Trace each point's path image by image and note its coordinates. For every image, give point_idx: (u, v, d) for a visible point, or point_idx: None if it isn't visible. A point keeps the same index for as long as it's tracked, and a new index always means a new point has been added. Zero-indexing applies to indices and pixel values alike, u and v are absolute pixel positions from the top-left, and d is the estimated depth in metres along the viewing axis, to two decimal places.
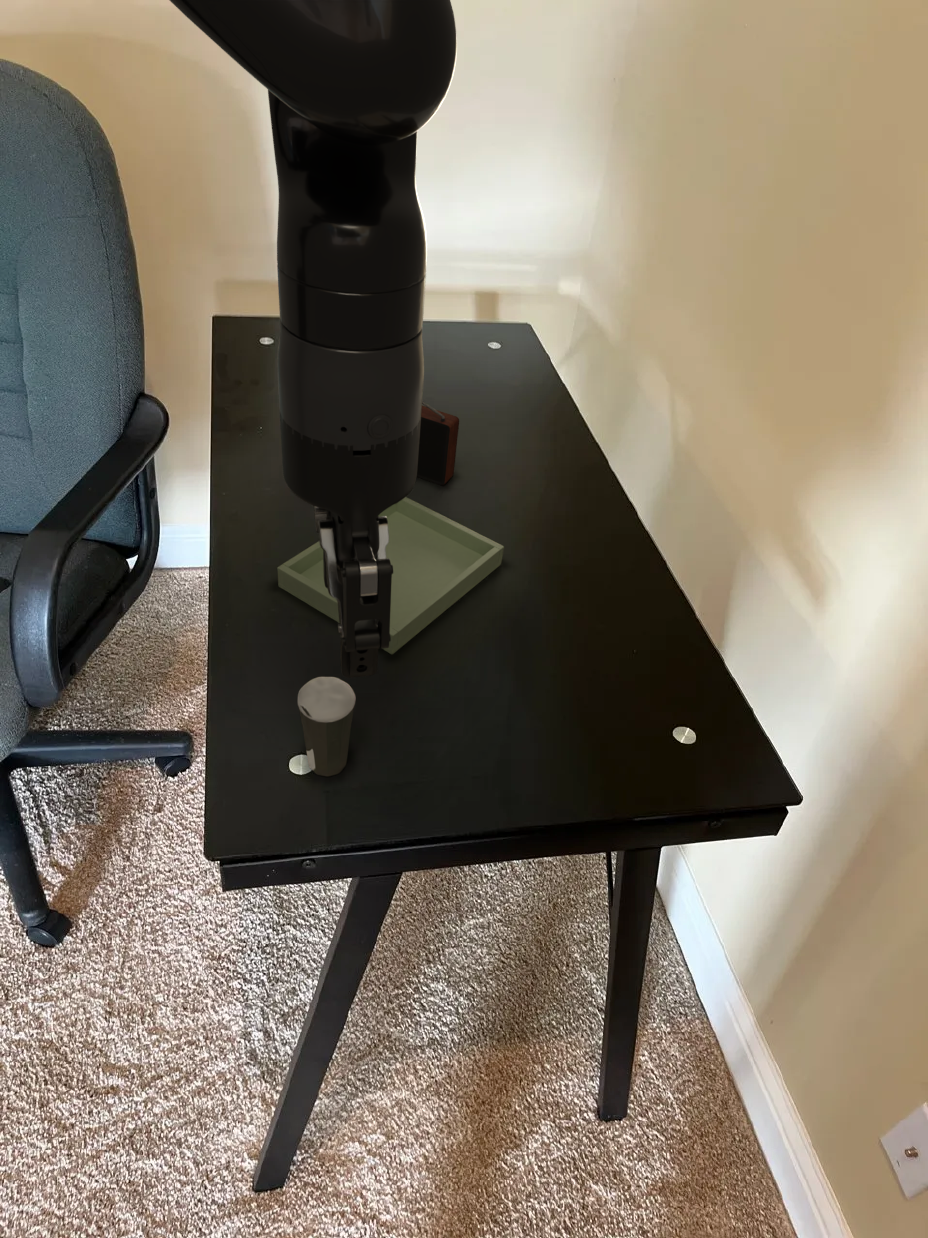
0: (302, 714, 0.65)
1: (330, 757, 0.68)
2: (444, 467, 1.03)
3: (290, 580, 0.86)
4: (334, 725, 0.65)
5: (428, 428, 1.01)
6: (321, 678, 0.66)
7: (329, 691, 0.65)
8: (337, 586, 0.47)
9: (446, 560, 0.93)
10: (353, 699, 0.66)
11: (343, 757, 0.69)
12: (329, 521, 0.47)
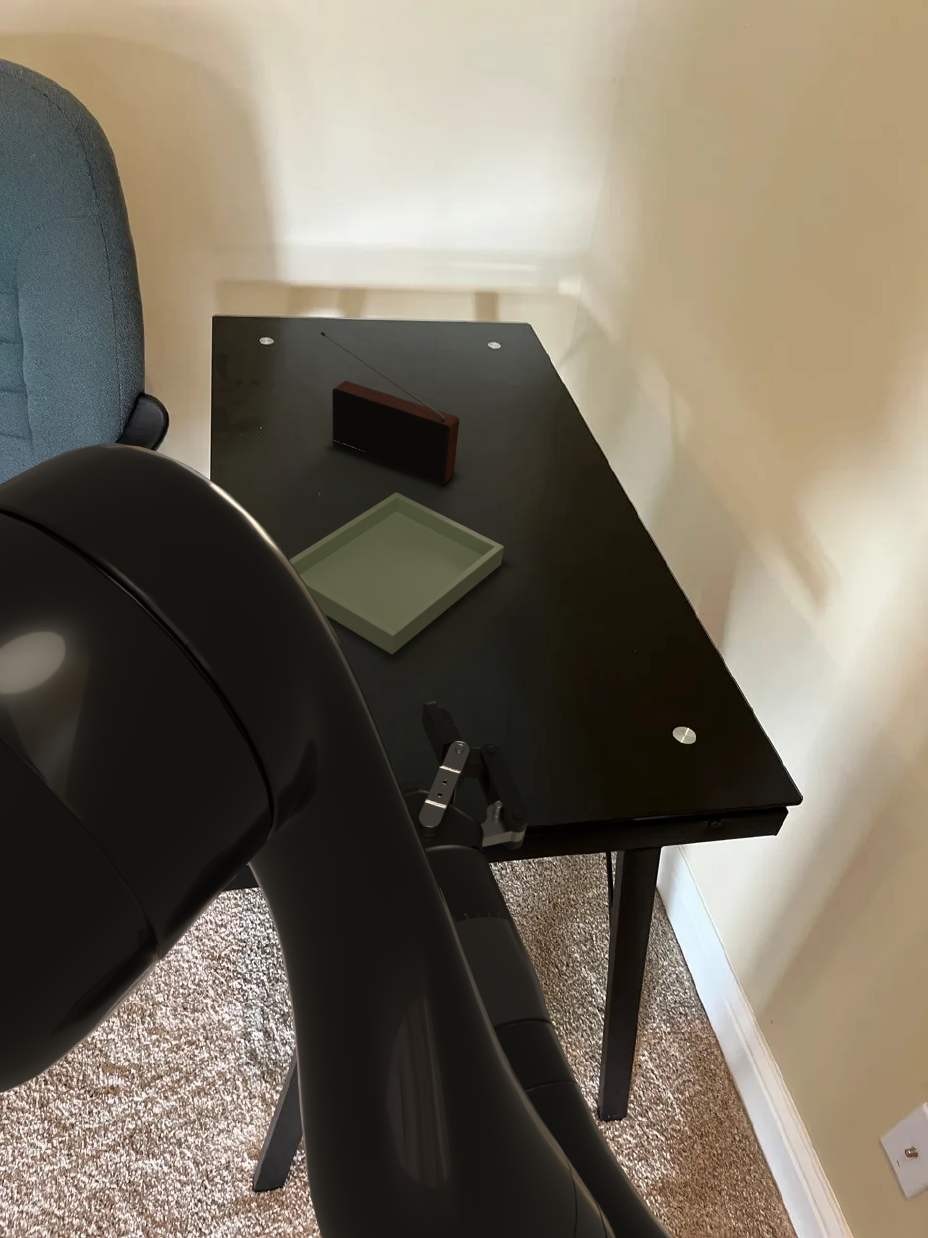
0: None
1: None
2: (444, 467, 1.03)
3: None
4: None
5: (428, 428, 1.01)
6: None
7: None
8: None
9: (446, 560, 0.93)
10: None
11: None
12: None
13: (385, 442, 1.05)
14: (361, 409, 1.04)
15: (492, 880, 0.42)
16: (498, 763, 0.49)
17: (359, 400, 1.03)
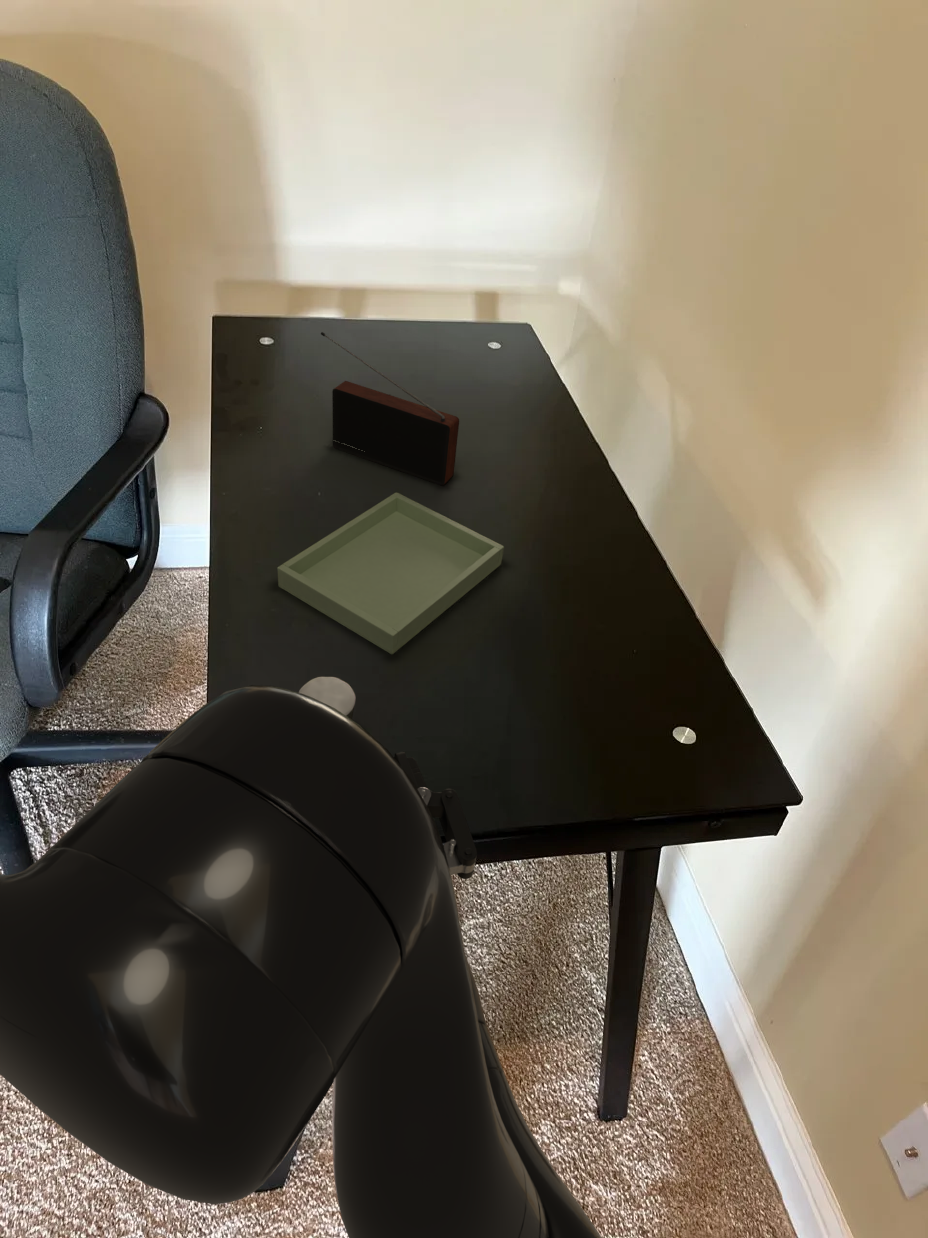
0: None
1: None
2: (444, 467, 1.03)
3: (290, 580, 0.86)
4: None
5: (428, 428, 1.01)
6: (321, 678, 0.66)
7: (329, 691, 0.65)
8: None
9: (446, 560, 0.93)
10: (353, 699, 0.66)
11: None
12: None
13: (385, 442, 1.05)
14: (361, 409, 1.04)
15: None
16: (454, 806, 0.59)
17: (359, 400, 1.03)
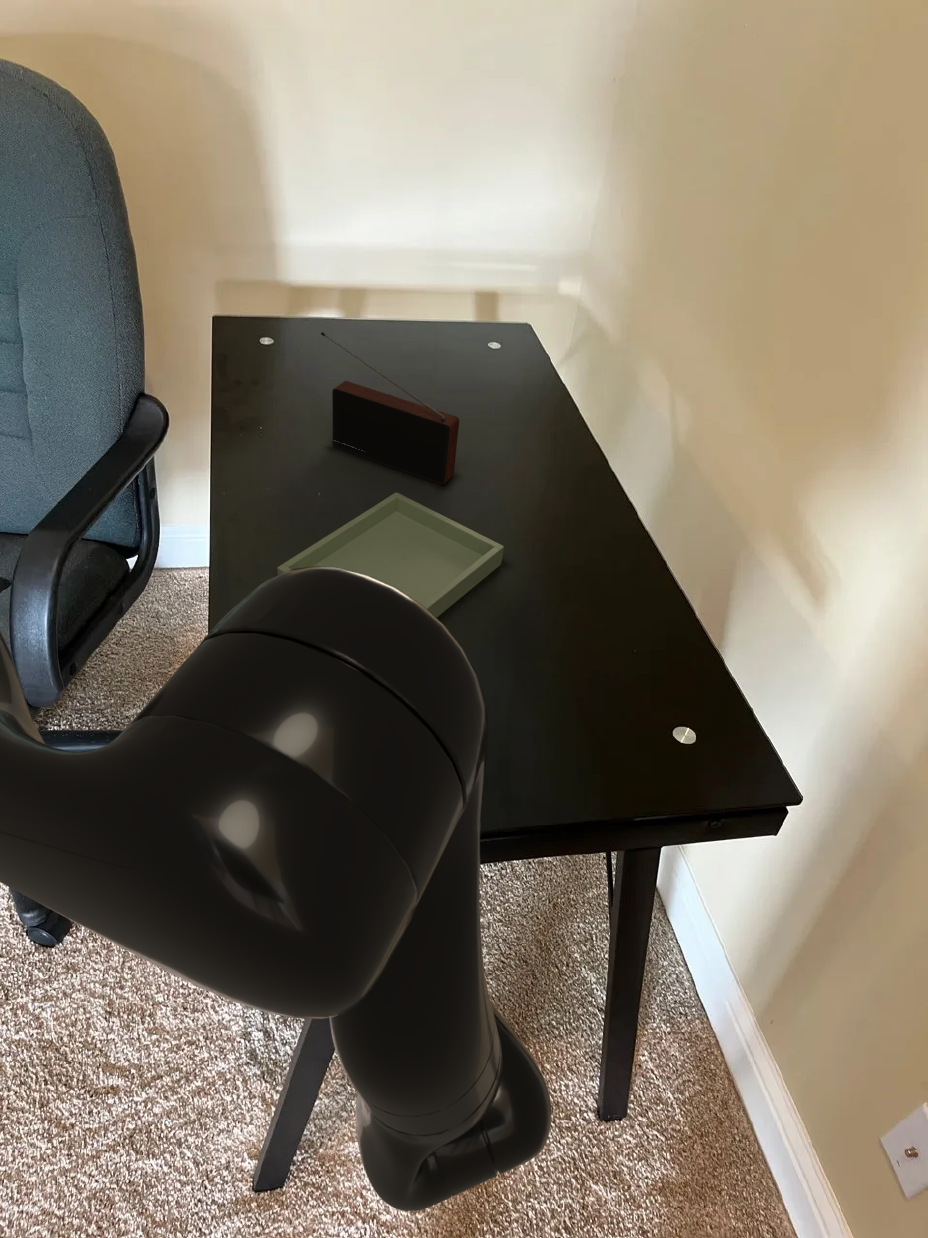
0: None
1: None
2: (444, 467, 1.03)
3: None
4: None
5: (428, 428, 1.01)
6: None
7: None
8: None
9: (446, 560, 0.93)
10: None
11: None
12: None
13: (385, 442, 1.05)
14: (361, 409, 1.04)
15: None
16: None
17: (359, 400, 1.03)
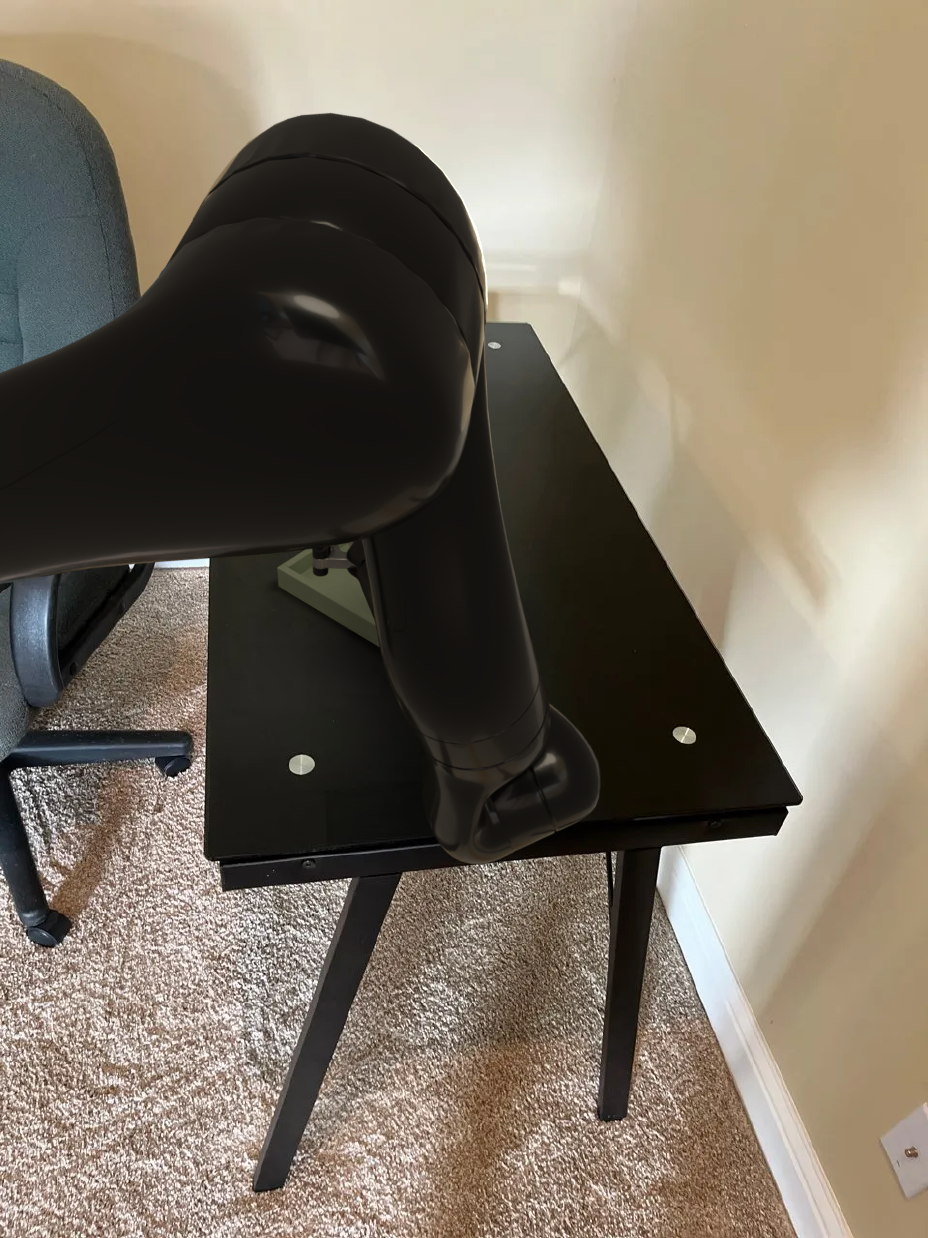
0: None
1: None
2: None
3: (290, 580, 0.86)
4: None
5: None
6: None
7: None
8: None
9: None
10: None
11: None
12: None
13: None
14: None
15: None
16: None
17: None
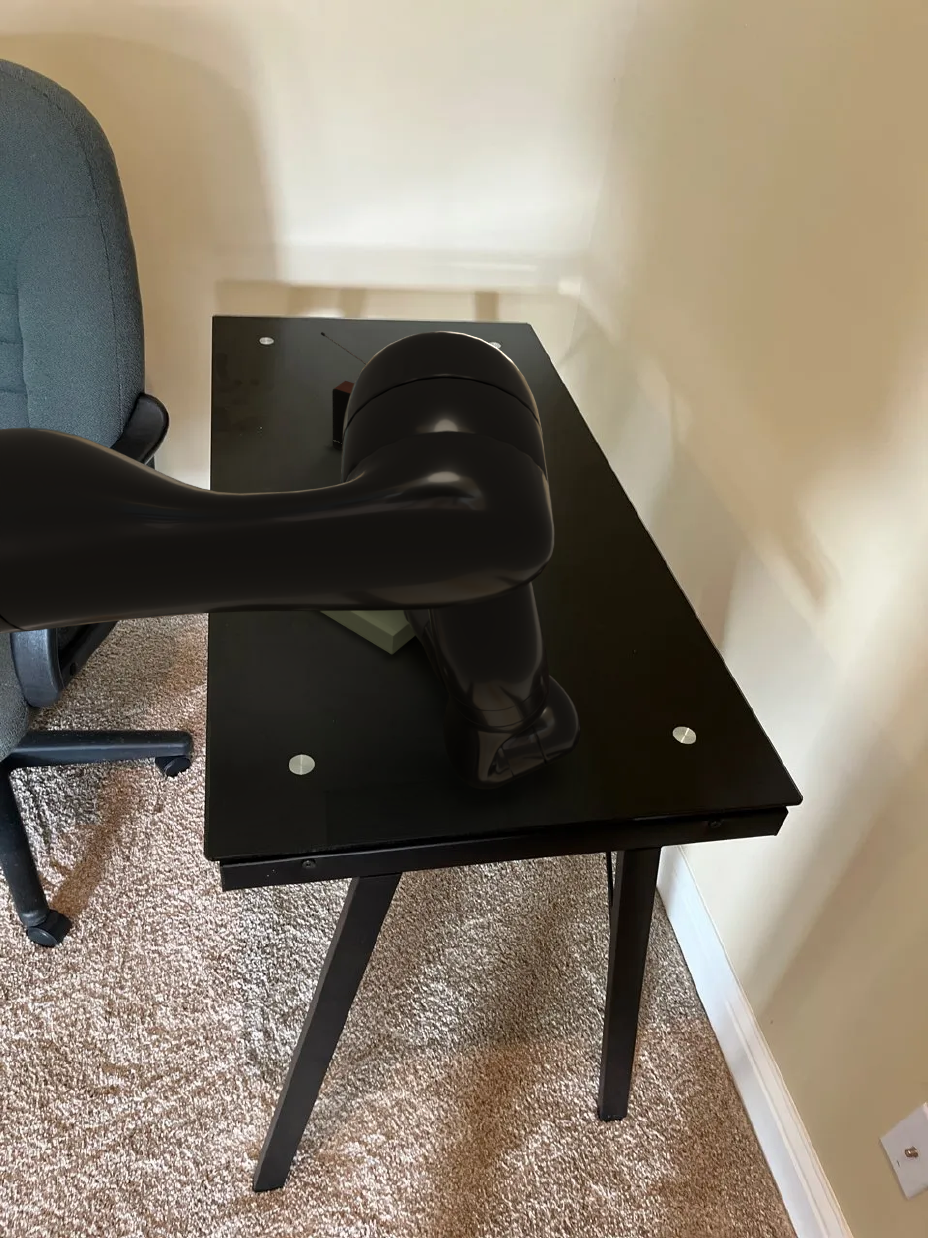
0: None
1: None
2: None
3: None
4: None
5: None
6: None
7: None
8: None
9: None
10: None
11: None
12: None
13: None
14: None
15: None
16: None
17: None
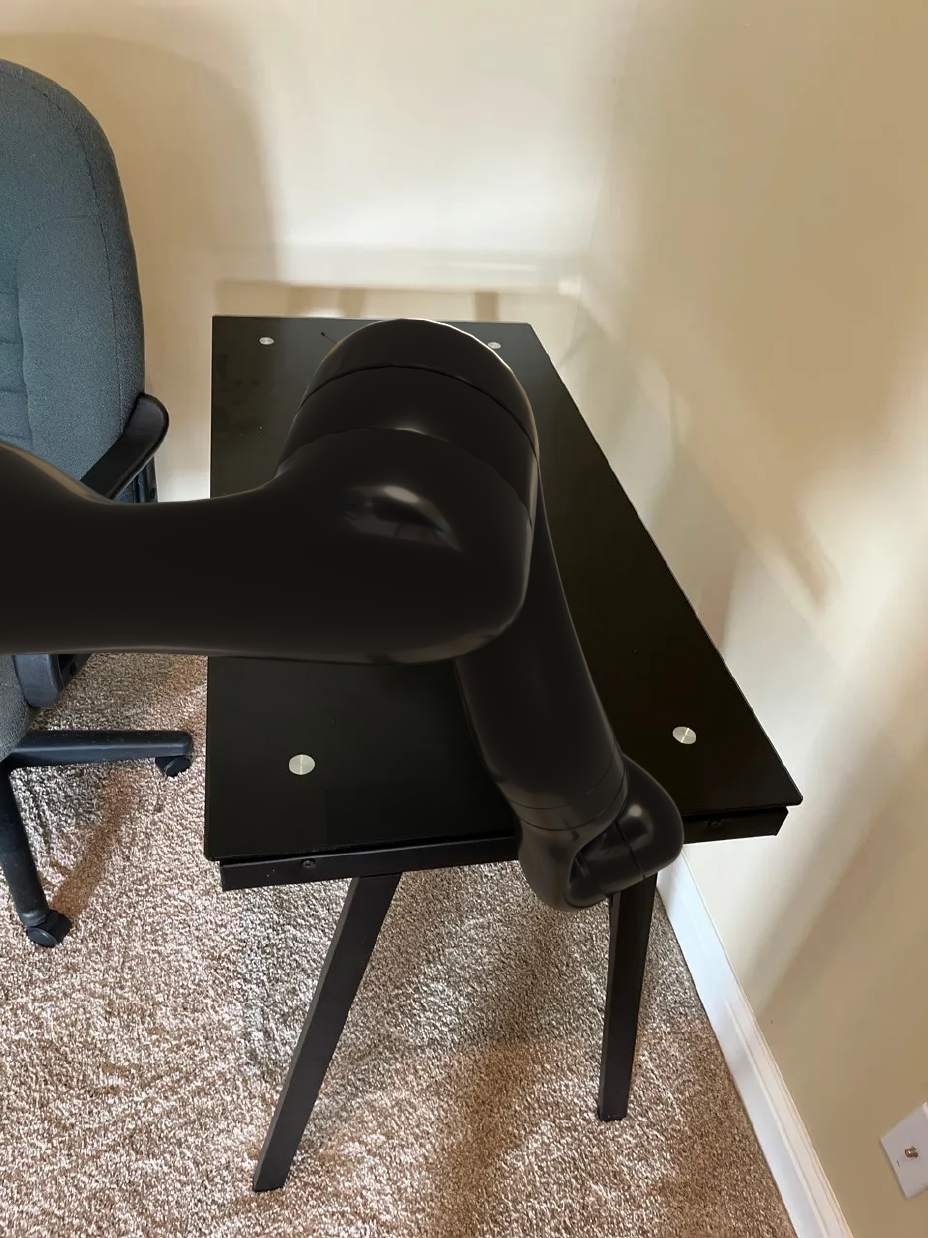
0: None
1: None
2: None
3: None
4: None
5: None
6: None
7: None
8: None
9: None
10: None
11: None
12: None
13: None
14: None
15: None
16: None
17: None
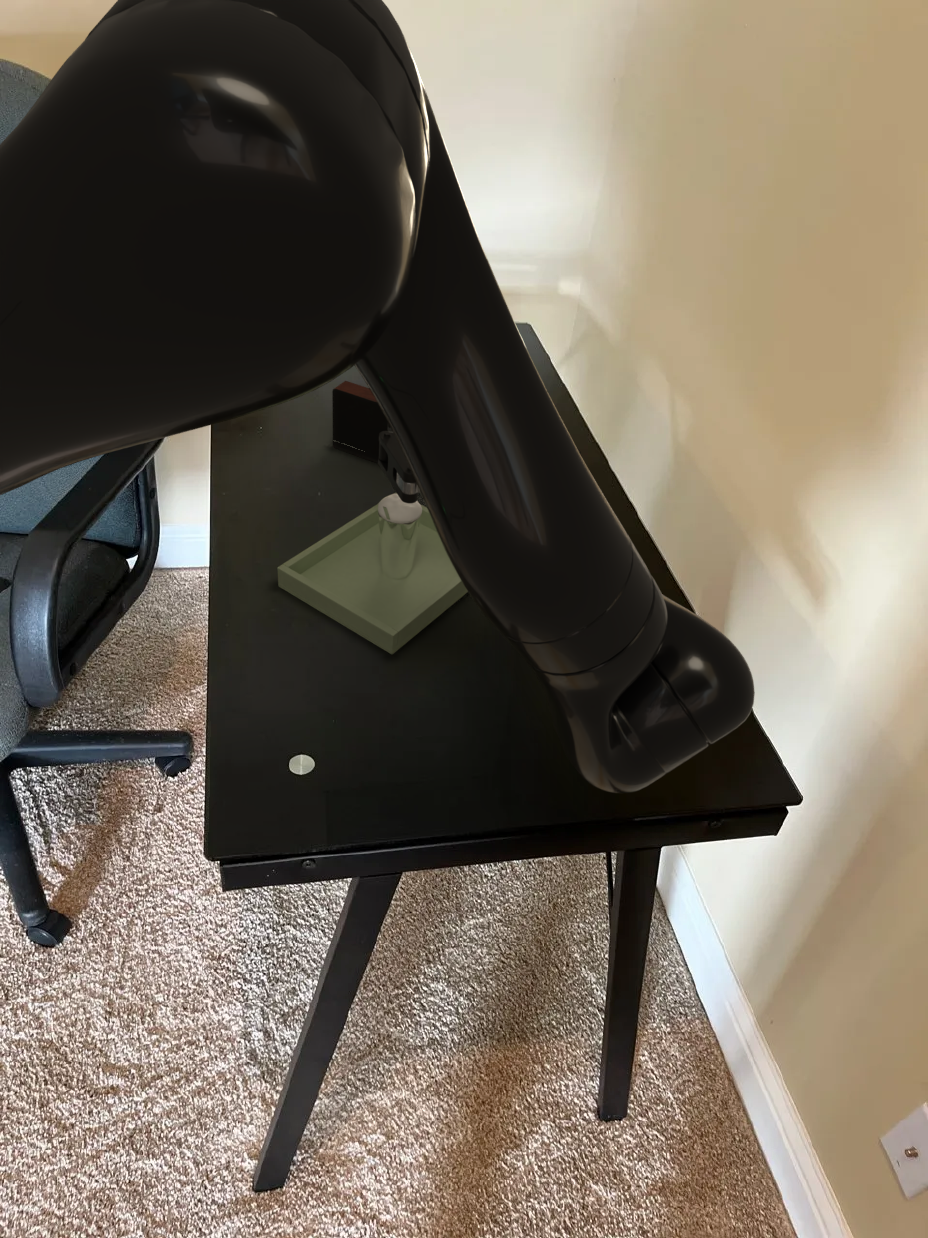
0: (382, 519, 0.84)
1: (401, 559, 0.88)
2: None
3: (290, 580, 0.86)
4: (406, 527, 0.84)
5: None
6: (396, 494, 0.86)
7: (402, 501, 0.85)
8: None
9: (446, 560, 0.93)
10: (420, 509, 0.85)
11: (410, 562, 0.89)
12: None
13: None
14: (361, 409, 1.04)
15: None
16: None
17: (359, 400, 1.03)
